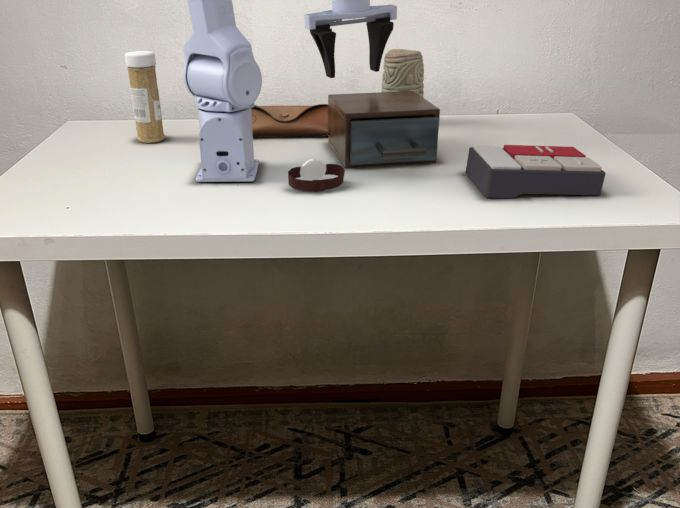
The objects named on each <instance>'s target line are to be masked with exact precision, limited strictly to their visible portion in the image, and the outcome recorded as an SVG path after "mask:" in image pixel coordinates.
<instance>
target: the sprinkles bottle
mask: <svg viewBox="0 0 680 508" xmlns="http://www.w3.org/2000/svg"><path fill="white" fill-rule="evenodd" d="M124 59H125V60H124V61H125V66H126V70H127V72H128V79H129V90H130V96H131V98H130V99H131V105H132V110H133V117H134V121H135V127H136V133H137V136H136V140H137V141H138V142H139V143H143V144H153V143H160V142H162V141H164V140H165V138H166V136H165V132H164V125H163V114H162V108H161V100H160V92H159V91H160V90H159V87H158V80H157V79H158V78H157V71H156V67H157V66H156V65H157V62H156V61H157V60H156V54H155V52H154V51H151V50H133V51H129V52H126V53H125V54H124Z"/></svg>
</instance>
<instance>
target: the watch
mask: <svg viewBox="0 0 680 508" xmlns="http://www.w3.org/2000/svg"><path fill="white" fill-rule="evenodd" d="M345 171H346V168H345V167H344V166H343V165H340V164H338V163H337V164H336V163H324V162H323V161H322V160H321V159H318V158H316V157H312V158H311V159H308V160H306V161H305V162H304V163H303V164H302V165H300V166H295V167H292V168H290V169H289V170H288V171H287V181H288V185H289V187H290V188H292V189H294V190H296V191H301V192H313V193H314V192H315V193H317V192H324V191H327V190H333V189H336V188H338V187H341V185H342V184H343V183H344V178H345ZM328 175H329V176H336V177H332V178H331V177H330V178H324V179H322V178H323V177H324V176H328ZM301 178H303V179H301Z"/></svg>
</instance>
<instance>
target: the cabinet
mask: <svg viewBox="0 0 680 508" xmlns="http://www.w3.org/2000/svg"><path fill="white" fill-rule="evenodd" d="M423 97H424V96H423ZM423 97H421V96H420V95H418V94H417V93H415V92H414V91H400V92H382V91H379V92H378V91H377V92H357V93H335V94H333V93H331V94H328V95H327V104H328V135H327V137H328V138H327V143H328V145H329V147H330V149H331V150H332V151H333V153H334V154H335V155H336V158H337V159H338V160H339V161H340V163H341V164H342V166H343V167H344V169H350V168H351V169H353V168H368V167H369V168H370V167H385V166H403V165H404V166H405V165H419V164H421V165H422V164H436V163H437V159H436V160H427V161H409V162H392V163H375V164H358V165H352V164H351V163H350V128H351V119H363V118H384V117H404V116H425V115H428V116H429V117H438V118H439V119H440V117H441V115H440V114H441V109H440V108H439V107H437V105H435V104H433V103H432V102H430V100H429V101H428V100H427V99H426V98H423ZM438 131H439V129H438ZM438 142H439V141H438ZM438 142H437V145H438ZM436 158H437V156H436Z"/></svg>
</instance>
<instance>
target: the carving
mask: <svg viewBox="0 0 680 508" xmlns="http://www.w3.org/2000/svg"><path fill="white" fill-rule="evenodd" d="M423 58H424V57H423V54H422V52H421V51H420V50H415V49H413V50H411V49H405V48H392V49H389V50H388V51H387V52H386V53H385V54H384V57H383V66H382V68H383V72H382V79H381V92H400V91H414V92H415V93H417V94H418V95H420V96H421V97H423V98H424V97H425V96H424V94H425V92H424V91H425V90H424V87H425V84H424V79H425V78H424V77H425V64H424V59H423ZM424 99H425V98H424Z"/></svg>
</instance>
